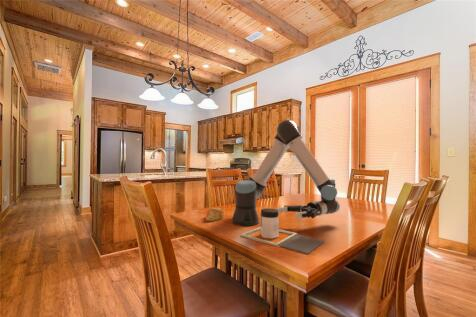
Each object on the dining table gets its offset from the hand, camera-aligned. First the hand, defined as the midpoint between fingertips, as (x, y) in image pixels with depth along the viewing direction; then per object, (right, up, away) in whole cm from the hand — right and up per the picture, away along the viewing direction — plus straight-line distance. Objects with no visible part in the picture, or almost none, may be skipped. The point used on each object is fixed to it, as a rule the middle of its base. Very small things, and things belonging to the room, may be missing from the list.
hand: (286, 213), depth 113 cm
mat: (+4, -10, -15) cm, 18 cm away
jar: (-9, -10, -5) cm, 14 cm away
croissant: (-38, -10, +27) cm, 47 cm away
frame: (-9, -9, -5) cm, 14 cm away
